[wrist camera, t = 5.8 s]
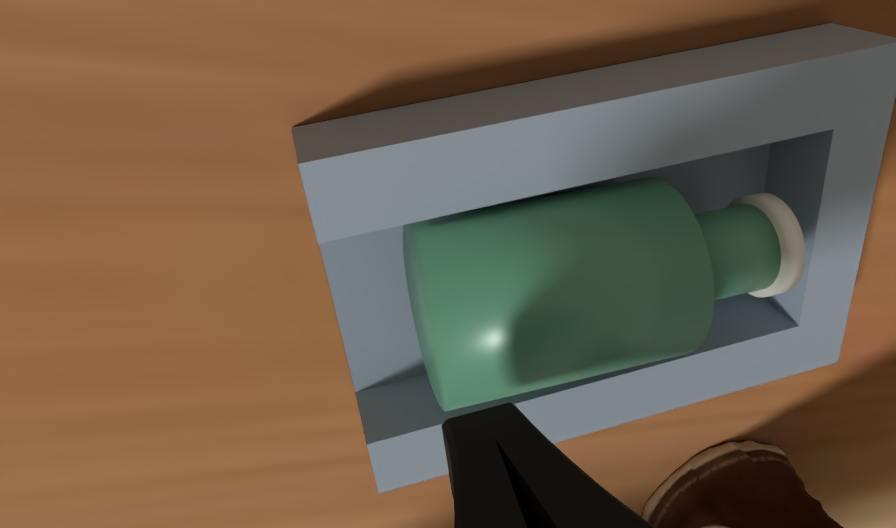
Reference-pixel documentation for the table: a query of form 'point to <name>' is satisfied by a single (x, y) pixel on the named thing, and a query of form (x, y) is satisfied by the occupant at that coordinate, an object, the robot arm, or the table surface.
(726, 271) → the bottle
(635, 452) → the table surface
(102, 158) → the table surface
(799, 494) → the coffee cup
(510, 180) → the cradle
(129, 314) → the table surface
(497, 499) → the robot arm
